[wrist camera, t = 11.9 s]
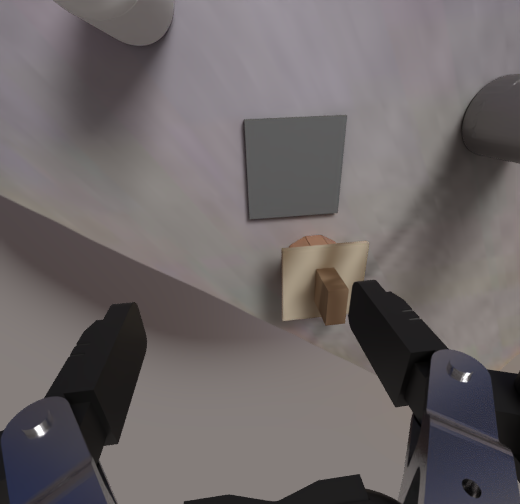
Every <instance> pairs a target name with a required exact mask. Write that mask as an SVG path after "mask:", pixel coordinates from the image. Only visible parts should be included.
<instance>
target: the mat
mask: <svg viewBox="0 0 520 504" xmlns="http://www.w3.org/2000/svg"><path fill="white" fill-rule="evenodd" d="M346 121H347V115H337V116H313V117H290V118H267V119H244V130H245V148H246V167H247V186H248V205H249V219H261V218H275V217H289V216H303V215H316V214H330V213H338V204H339V194H340V183H341V173H342V163H343V152H344V142H345V131H346Z"/></svg>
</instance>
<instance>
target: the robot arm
mask: <svg viewBox="0 0 520 504" xmlns="http://www.w3.org/2000/svg"><path fill="white" fill-rule="evenodd" d="M462 135H463V140H464V143H465V144H466V146H467V148H468V149H469V150H470V151H471V152H473V153H475V154H478V155H482V156H487V157H492V158H496V159H501V160H505V161H510V162H515V163H519V164H520V74H515V75H506V76H503V77H499V78H497V79H495V80H493V81H492V82H490V83H489V84H487V85H486V86H485V87H484V88H483V89H482V90H481V91H480V92H479V93H478V94H477V95H476V96H475V98H474V99H473V100H472V102H471V104H470V105H469V107H468V109H467V111H466V114H465V117H464V120H463V126H462ZM348 318H349V324H350V327H351V330H352V332H353V333H354V335H355V337H356V339H357V340H358V342H359V344H360V346H361V348H362V349H363V351H364V353H365V355H366V356H367V358H368V360H369V362H370V363H371V365H372V367H373V369H374V370H375V372H376V374H377V376H378V378H379V379H380V381H381V383H382V384H383V386H384V388H385V390H386V392H387V393H388V395H389V397H390V399H391V400H392V402H393V404H394V405H395V407H400V406H408V405H409V407H410V408H411V410H412V412H413V414H412V418H411V423H410V431H409V438H408V445H407V453H406V460H405V467H404V474H403V479H402V484H401V488H400V492H399V497H398V501H397V500H395V499H393V498H391V497H389V496H387V495H385V494H382V493H380V492H376V491H373V490H370V489H365V487H364V485H363V482H362V479H361V477H360V474H357V475H351V476H344V477H338V478H331V479H326V480H318V481H316V482H314V483H313V484H310V485H309V486H307V487H305V488H303V489H301V490H299V491H297V492H295V493H293V494H291V495H289V496H287V497H285V498H283V499H281V500H279V501H265V500H260V499H253V498H247V497H241V496H235V495H222V496H216V497H210V498H203V499H197V500H190V501H184V504H520V494H519V488H518V482H517V480H518V481H519V483H520V372H519V373H518V374H515V373H508V372H501V371H494V370H488V369H486V368H485V367H484V366H483V365H482V364H481V363H480V362H479V361H477V360H476V359H475V358H473V357H471V356H469V355H467V354H465V353H462V352H460V351H456V350H450V349H448V348H447V347H446V346H445V344H444V343H443V342H442V341H441V340H440V339H439V338H438V337H437V336H436V335H435V334H434V332H433V331H432V330H431V329H430V328H429V327H428V326H427V325H426V324H425V323H424V322H423V320H422V319H420V318H419V316H418V315H417V314H416V313H415V312H414V311H412V308H411V307H410V306H409V305H408V304H407V303H406V302H405V301H404V300H403V299H402V298H400V297H398V296H397V295H395V294H394V293H392V292H386V291H385V290H384V289H383V288H382V287H381V286H380V284H379V283H378V282H377V281H376V280H367V281H357V282H354V283H353V285H352V291H351V298H350V306H349V313H348ZM146 348H147V338H146V333H145V329H144V326H143V322H142V319H141V315H140V312H139V308H138V306H137V304H136V303H135V302H132V303H122V304H113V305H111V306H110V308H109V310H108V312H107V314H106V315H105V317H104V319H103V320H96V321H95V322H94V323H93V324H92V325H91V326H90V327H89V328H87V329H86V330H85V331H84V332H83V334H82V336H81V337H80V339H79V341H78V342H77V346H76V347H74V349H73V351H72V353H71V354H70V357H68V359H67V361H66V362H65V364H64V366H63V368H62V369H61V371H60V372H59V374H58V376H57V378H56V379H55V381H54V382H53V384H52V386H51V387H50V389H49V391H48V393H47V394H46V396H45V397H44V399H41V400H38V401H36V402H34V403H32V404H30V405H29V406H27V407H26V408H24V409H23V410H21V411H20V412H19V413H18V414H17V415H16V416H15V417H14V418H13V419H12V420H11V421H10V422H9V423H8V425H7V426H6V428H5V429H4V430H3V431H0V504H118V503H117V500H116V498H115V496H114V493H113V491H112V489H111V486H110V484H109V482H108V479H107V477H106V475H105V472H104V470H103V468H102V465H101V463H100V461H99V458H100V455H101V452H102V449H103V446H106V445H114V444H118V442H119V439H120V436H121V432H122V429H123V426H124V423H125V419H126V416H127V412H128V409H129V406H130V403H131V399H132V396H133V393H134V390H135V386H136V383H137V380H138V376H139V373H140V370H141V366H142V363H143V360H144V356H145V353H146Z"/></svg>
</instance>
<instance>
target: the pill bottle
mask: <svg viewBox="0 0 520 504" xmlns="http://www.w3.org/2000/svg"><path fill="white" fill-rule="evenodd" d="M53 1H55V2H56V3H57V4H58V5H60V6H61V7H62V8H64V9H65V10H67V11H68V12H70V13H71V14H73V15H75V16H77V17H78V18H80V19H82V20H84V21H85V22H87V23H89V24H91V25H93V26H94V27H96V28H98V29H100V30H101V31H103V32H105V33H107V34H108V35H110V36H112V37H114V38H115V39H117V40H119V41H121V42H123V43H126V44H129V45H135V46H145V45H149V44H152V43H154V42H156V41H158V40H159V39H160V38H161V37H162V36H163V35H164V34H165V33H166V32H167V30H168V28H169V26H170V24H171V21H172V18H173V13H174V0H53Z"/></svg>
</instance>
